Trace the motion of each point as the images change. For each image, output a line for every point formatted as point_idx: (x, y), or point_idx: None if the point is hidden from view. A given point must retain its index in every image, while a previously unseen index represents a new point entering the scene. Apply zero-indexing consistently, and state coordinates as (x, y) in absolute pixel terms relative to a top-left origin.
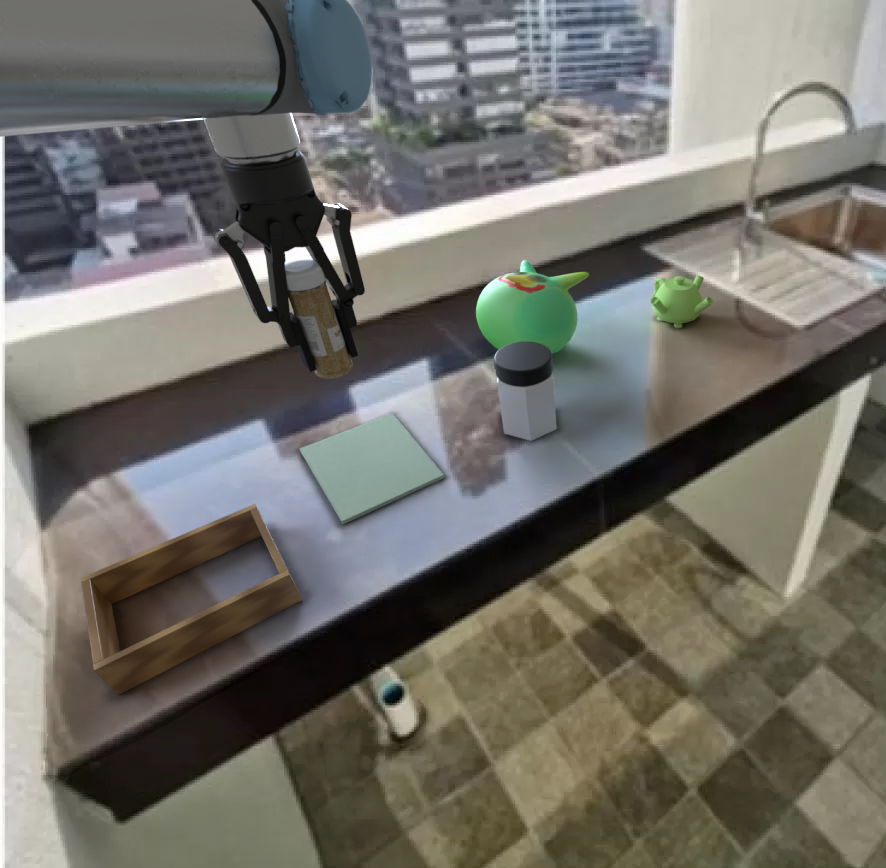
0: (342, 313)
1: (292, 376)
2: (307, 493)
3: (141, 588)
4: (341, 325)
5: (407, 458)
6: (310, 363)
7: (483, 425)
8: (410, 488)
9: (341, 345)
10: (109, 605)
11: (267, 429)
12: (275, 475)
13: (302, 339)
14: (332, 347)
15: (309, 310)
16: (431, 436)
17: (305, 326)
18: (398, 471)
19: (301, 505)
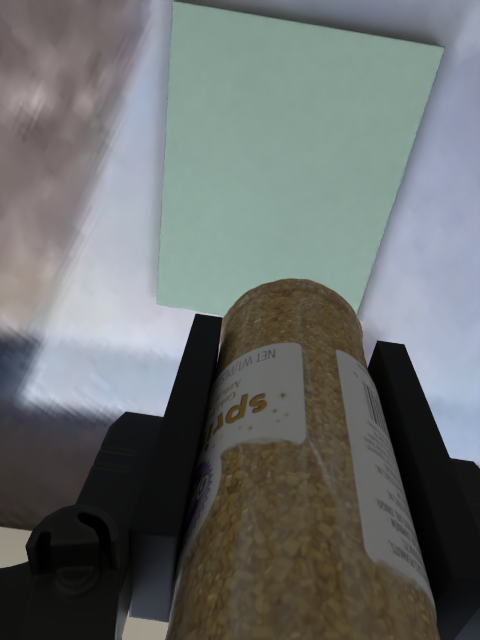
0: (158, 495)
1: None
2: (418, 212)
3: None
4: (198, 442)
5: (209, 139)
6: (400, 366)
7: (2, 117)
8: (264, 22)
9: (250, 359)
10: None
11: None
12: (420, 306)
13: (433, 463)
14: (302, 360)
15: (394, 622)
16: (125, 178)
17: (412, 522)
18: (249, 111)
19: (450, 186)
